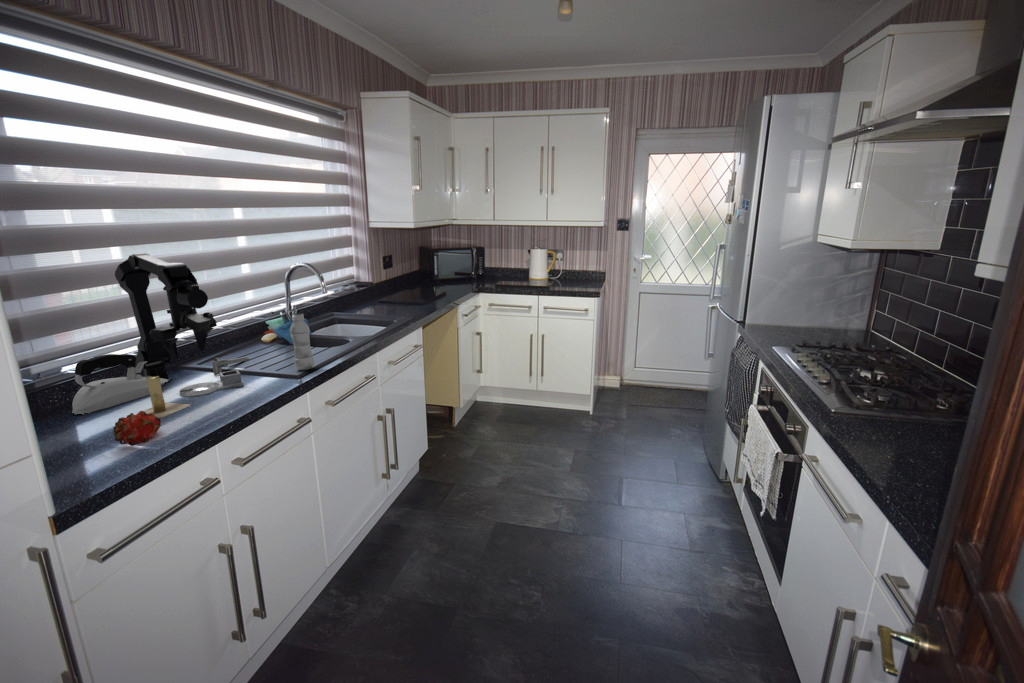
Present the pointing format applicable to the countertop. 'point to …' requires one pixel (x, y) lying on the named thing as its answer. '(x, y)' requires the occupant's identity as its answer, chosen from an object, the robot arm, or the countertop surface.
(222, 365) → the caliper
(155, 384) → the brass cylinder
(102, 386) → the iron
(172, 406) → the tan square plate
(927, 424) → the countertop surface
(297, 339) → the plastic bottle
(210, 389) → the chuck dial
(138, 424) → the dragon fruit
